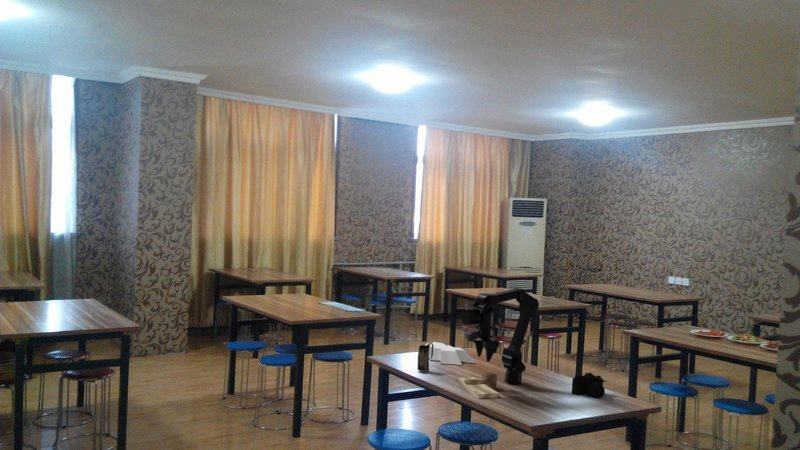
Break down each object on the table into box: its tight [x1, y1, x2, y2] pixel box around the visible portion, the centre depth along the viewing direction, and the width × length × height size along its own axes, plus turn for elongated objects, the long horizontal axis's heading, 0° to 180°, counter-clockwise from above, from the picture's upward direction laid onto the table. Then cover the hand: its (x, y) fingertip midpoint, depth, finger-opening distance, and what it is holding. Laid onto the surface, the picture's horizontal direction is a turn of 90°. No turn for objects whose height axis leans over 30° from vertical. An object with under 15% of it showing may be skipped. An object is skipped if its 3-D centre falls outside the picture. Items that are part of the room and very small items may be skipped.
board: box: [454, 376, 500, 400], centre depth 268 cm, size 9×24×2 cm, turn 18°
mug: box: [417, 343, 434, 372], centre depth 298 cm, size 8×6×12 cm
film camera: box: [571, 372, 607, 399], centre depth 268 cm, size 15×10×9 cm, turn 105°
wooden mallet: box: [464, 371, 498, 390], centre depth 272 cm, size 14×4×6 cm, turn 108°
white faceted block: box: [425, 341, 476, 366], centre depth 326 cm, size 35×20×6 cm, turn 40°
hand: (483, 359), depth 273 cm, fingers open, 9 cm apart
